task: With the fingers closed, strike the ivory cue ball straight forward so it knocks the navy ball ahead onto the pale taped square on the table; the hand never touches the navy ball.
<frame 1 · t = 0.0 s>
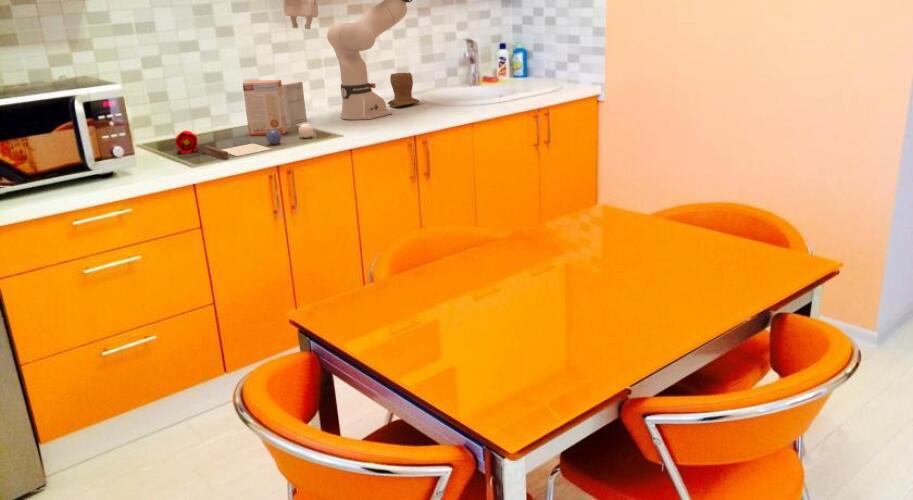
hand: (301, 28, 323), 39 cm above the kitchen counter, tool pointing down, fingers open, 8 cm apart
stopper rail: (216, 155, 291), on the kitchen counter
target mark: (245, 150, 298), on the kitchen counter
cracker box: (268, 134, 324), on the kitchen counter
navy ball: (273, 136, 304), on the kitchen counter
stone cup: (402, 106, 372), on the kitchen counter
supplement box: (291, 122, 345), on the kitchen counter
flower: (188, 151, 300), on the kitchen counter
cue ball: (306, 130, 313), on the kitchen counter
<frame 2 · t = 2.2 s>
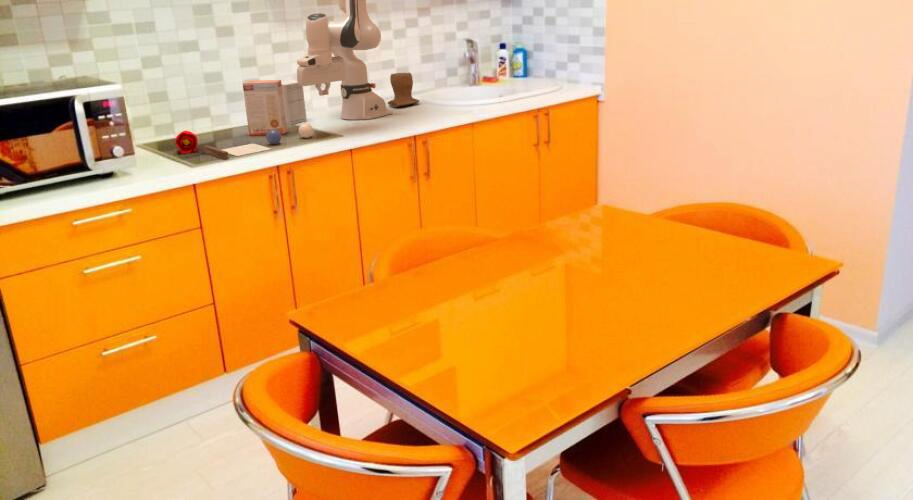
hand: (323, 95, 315), 15 cm above the kitchen counter, tool pointing down, fingers closed
nothing on the kitchen counter moved.
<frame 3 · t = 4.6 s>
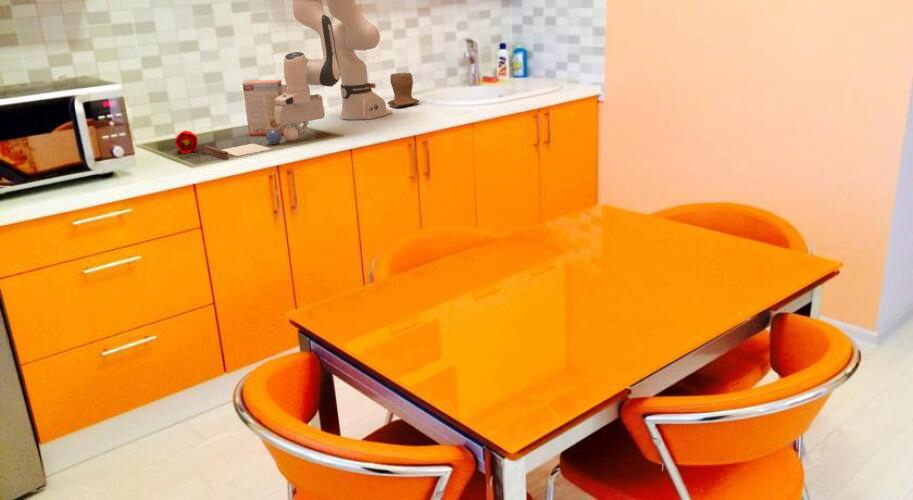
hand: (302, 133, 311), 2 cm above the kitchen counter, tool pointing down, fingers closed
cue ball: (291, 133, 309), on the kitchen counter
everything else where it was.
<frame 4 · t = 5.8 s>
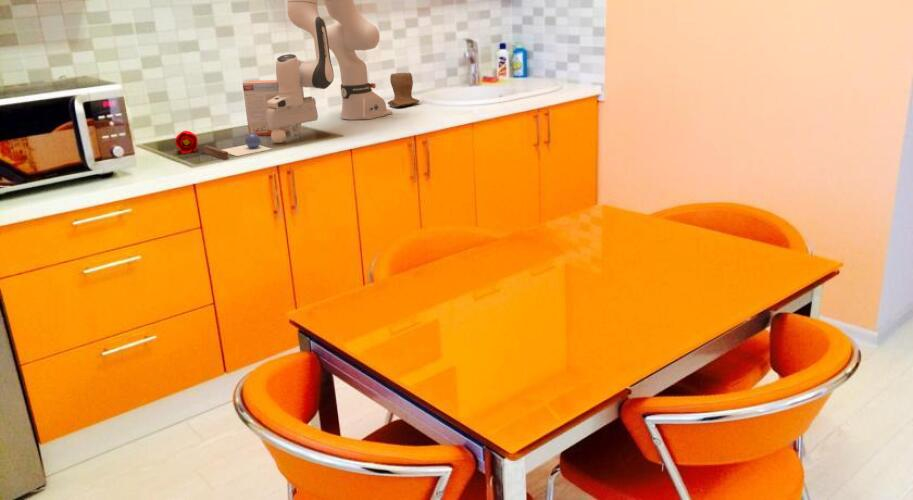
hand: (294, 135, 310), 2 cm above the kitchen counter, tool pointing down, fingers closed
navy ball: (252, 141, 299), on the kitchen counter
cue ball: (278, 135, 306), on the kitchen counter
everything else where it was.
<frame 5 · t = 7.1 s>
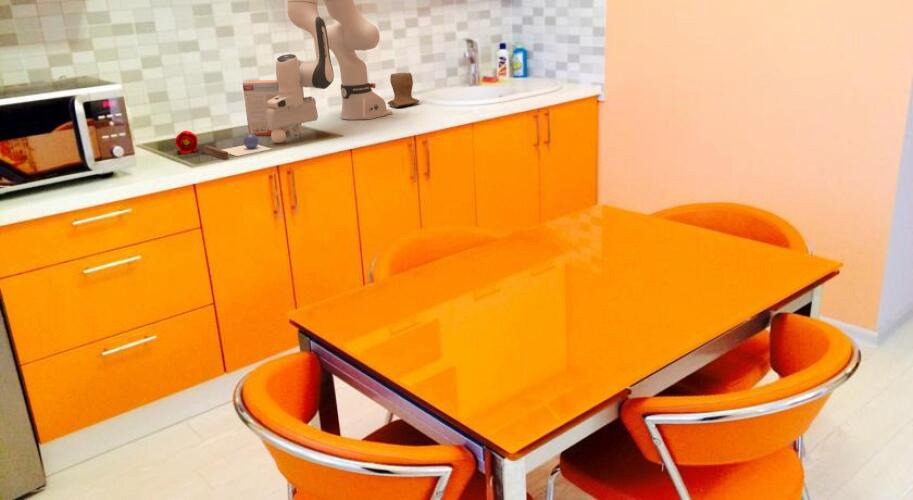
hand: (294, 135, 310), 2 cm above the kitchen counter, tool pointing down, fingers closed
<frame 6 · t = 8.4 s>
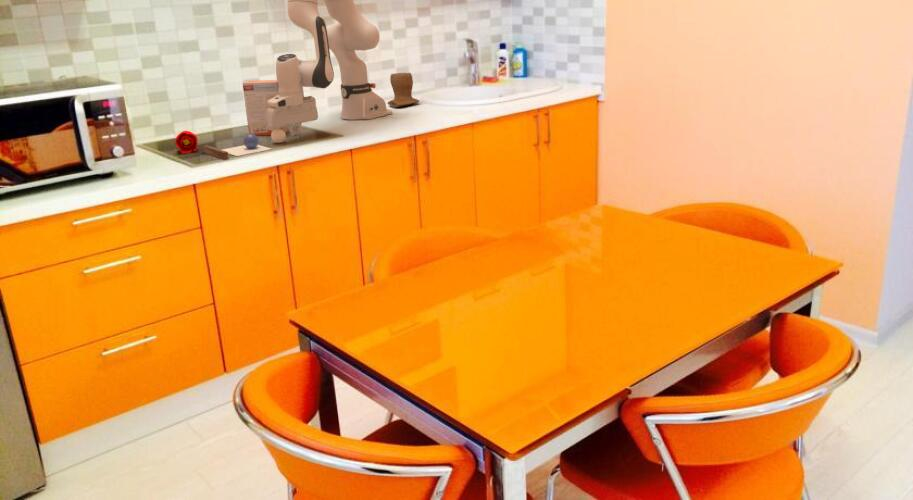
hand: (295, 135, 310), 2 cm above the kitchen counter, tool pointing down, fingers closed
nothing on the kitchen counter moved.
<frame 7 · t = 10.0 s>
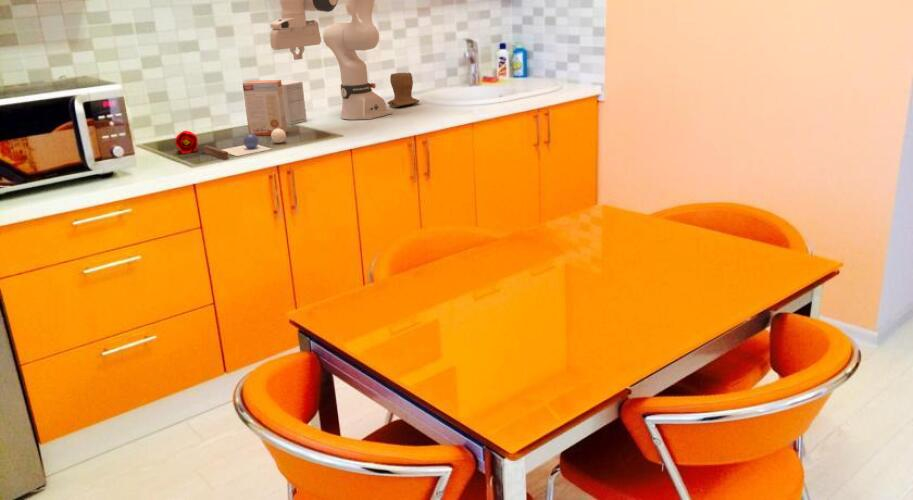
hand: (298, 59, 311), 29 cm above the kitchen counter, tool pointing down, fingers closed
nothing on the kitchen counter moved.
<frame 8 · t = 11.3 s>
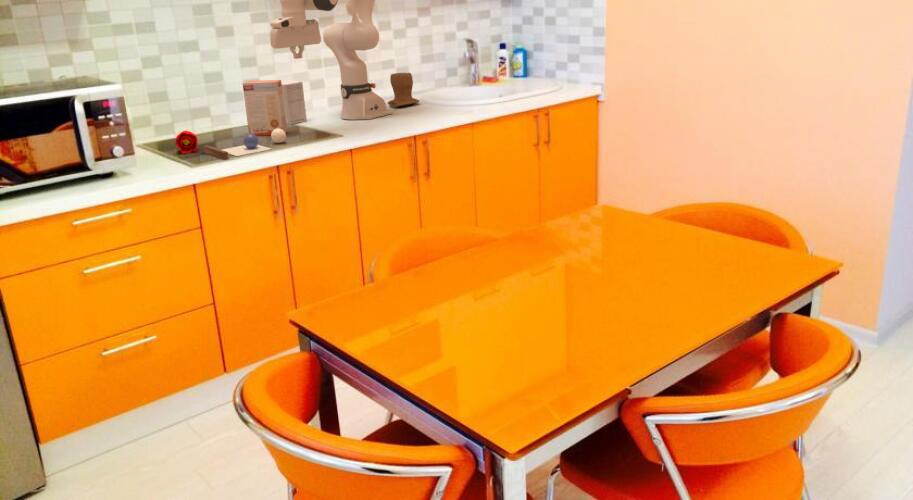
hand: (298, 58, 311), 29 cm above the kitchen counter, tool pointing down, fingers closed
nothing on the kitchen counter moved.
at the end: navy ball 2.6 cm from the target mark (horizontally); navy ball never touched the robot; cue ball first touched navy ball at 4.7 s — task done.
